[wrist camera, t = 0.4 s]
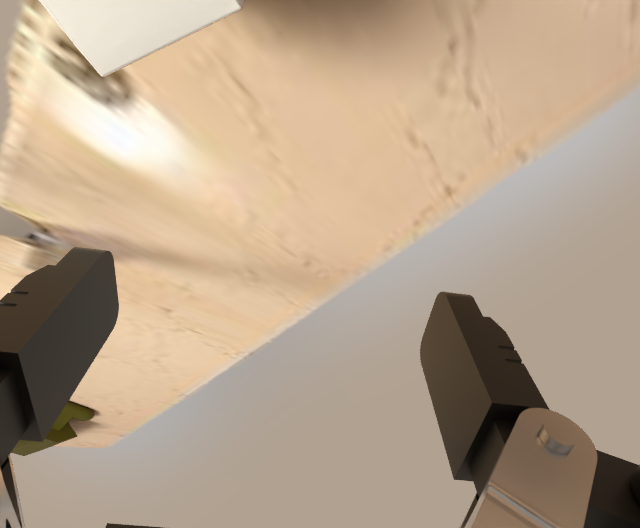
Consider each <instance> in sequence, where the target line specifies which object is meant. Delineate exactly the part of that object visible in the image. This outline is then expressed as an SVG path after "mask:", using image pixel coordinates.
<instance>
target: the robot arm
mask: <svg viewBox="0 0 640 528" xmlns="http://www.w3.org/2000/svg"><path fill="white" fill-rule="evenodd" d="M118 309H119V303H118V294H117V285H116V276H115V267H114V259H113V256H112V254H111V252H110V251H105V250H96V249H88V248H80V247H75V248H73V249H72V250H70V251H69V252H68V253H67V254H66V256H65V257H64V258H63V259H62V260H61V261H60V262H59V263H58V264H57V265H56V266H53V265H47V266H45V267H43V268H41V269H39V270H37V271H35V272H33V273H31V274H29V275H27V276H25V277H24V278H23V279H22V280H21V281H20V282H19V283H18V284H17V285H16V286H15V287H14V288H13V289H12V290H11V293H7V294H6V295H5V296H4V297H3V298H2V299H1V300H0V528H25V524H24V519H23V514H22V509H21V504H20V499H19V494H18V489H17V484H16V479H15V474H14V469H13V464H12V460H11V458H10V455H9V454H10V453H11V452H12V450H13V449H14V447H15V446H16V444H17V443H18V441H19V440H26V441H37V442H43V441H44V439H45V437H46V436H47V434H48V433H49V431H50V429H51V428H52V426H53V425H54V423H55V421H56V420H57V418H58V417H59V415H60V413H61V412H62V410H63V409H64V407H65V405H66V404H67V402H68V401H69V399H70V397H71V396H72V394H73V393H74V391H75V389H76V388H77V386H78V385H79V383H80V381H81V380H82V378H83V377H84V375H85V373H86V372H87V370H88V369H89V367H90V365H91V364H92V362H93V361H94V359H95V357H96V356H97V354H98V353H99V351H100V349H101V348H102V346H103V345H104V343H105V341H106V340H107V338H108V337H109V335H110V333H111V332H112V330H113V328H114V326H115V324H116V321H117V317H118ZM420 356H421V357H420V358H421V364H422V367H423V371H424V375H425V378H426V382H427V385H428V389H429V393H430V396H431V399H432V403H433V407H434V410H435V414H436V417H437V421H438V424H439V428H440V432H441V435H442V438H443V442H444V446H445V449H446V453H447V456H448V460H449V463H450V467H451V470H452V474H453V478H454V480H466V481H474V484H475V487H476V490H477V493H476V494H475V496H474V498H473V500H472V502H471V504H470V506H469V508H468V510H467V513H466V515H465V517H464V519H463V521H462V523H461V525H460V527H459V528H640V465H637V464H634V463H631V462H628V461H625V460H623V459H620V458H617V457H614V456H612V455H609V454H606V453H603V452H600V451H598V450H596V448H595V446H594V444H593V443H592V441H591V439H590V438H589V436H588V435H587V434H586V433H585V432H584V431H583V430H582V429H581V428H580V427H579V426H578V425H577V424H575V423H574V422H573V421H571V420H570V419H568V418H567V417H565V416H563V415H561V414H559V413H557V412H554V411H551V410H549V408H548V406H547V405H546V403H545V401H544V399H543V397H542V396H541V394H540V392H539V390H538V388H537V387H536V385H535V383H534V381H533V380H532V378H531V376H530V374H529V372H528V371H527V369H526V367H525V366H524V364H522V363H521V361H522V360H521V358H520V356H519V355H518V353H517V351H516V350H514V346H513V344H512V342H511V340H510V339H509V337H508V335H507V334H506V332H505V331H504V330H503V329H502V328H501V327H500V326H499V325H498V324H497V323H496V322H494V321H493V320H492V319H491V318H490V317H483V316H482V314H481V312H480V310H479V308H478V306H477V304H476V302H475V300H474V298H473V297H472V296H471V295H465V294H456V293H448V292H440V293H439V294H438V295H437V297H436V300H435V303H434V305H433V308H432V311H431V314H430V317H429V320H428V323H427V326H426V329H425V332H424V335H423V338H422V342H421V349H420ZM106 528H161V527H148V526H133V525H121V524H108V523H107V526H106Z"/></svg>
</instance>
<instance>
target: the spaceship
mask: <svg viewBox="0 0 640 528" xmlns="http://www.w3.org/2000/svg"><path fill="white" fill-rule="evenodd" d="M93 417H94V412H93V411H92V410H91V409H89V408H86V407H84V406H81V405H78V404H75V403H72V402H69V401H68V402H67V404H66V405H65V407H64V409H63V410H62V412H61V413H60V415H59V417H58V418H57V420H56V421H55V423H54V425H53V426H52V428H51V429H50V431H49V433H48V434H47V436H46V437H45V439H44V441H43V442H37V441H26V440H19V441H18V443H17V444H16V446H15V447H14V449H13V450H12V452H11V453H15V454H19V455H22V456H25V455H28V454H31V453H34V452H37V451H40V450H43V449H45V448H48V447H51V446H53V445H56V444H59V443H61V442H64V441H66V440H69V439H72V438H74V437H77V435H76V433H75V432H74V431H73V429H72V428H71V426H70V425H69V423H68V421H69V420H70V419H71V418H74V419H77V420H81V421H86V420H90V419H92V418H93Z"/></svg>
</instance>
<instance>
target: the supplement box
mask: <svg viewBox="0 0 640 528" xmlns="http://www.w3.org/2000/svg"><path fill="white" fill-rule="evenodd" d="M39 1H40V2H41V3H42V4H43V6H44V7H45V8H46V9H47V11H48V12H49V13H50V15H51V16H52V17H53V18H54V19H55V21H56V22H57V23H58V25H59V26H60V27H61V28H62V29H63V31H64V32H65V33H66V35H67V36H68V37H69V38H70V40H71V41H72V42H73V43H74V45H75V46H76V47H77V48H78V50H79V51H80V52H81V53H82V54H83V55H84V57H85V58H86V59H87V60H88V61H89V62H90V64H91V65H92V66H93V67H94V68H95V69H96V71H97V72H98V73H99V74H100V75H101V76H102V77H104V76H107V75H109V74H111V73H113V72H115V71H117V70H119V69H121V68H123V67H125V66H127V65H129V64H132V63H134V62H136V61H138V60H140V59H142V58H144V57H146V56H148V55H150V54H152V53H154V52H156V51H158V50H160V49H162V48H164V47H166V46H169V45H171V44H173V43H175V42H177V41H179V40H181V39H183V38H185V37H187V36H189V35H191V34H193V33H195V32H197V31H199V30H201V29H203V28H205V27H207V26H209V25H211V24H213V23H215V22H217V21H219V20H221V19H223V18H225V17H227V16H229V15H231V14H233V13H235V12H237V11H239V10H241V9H242V6H243V4H244V1H245V0H39Z"/></svg>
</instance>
